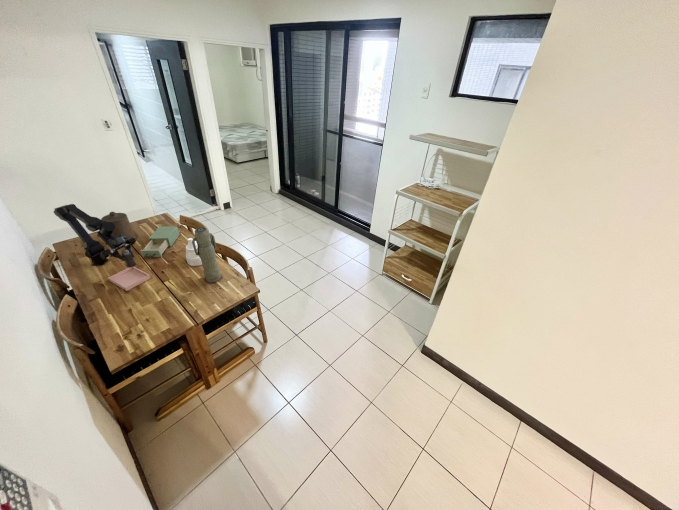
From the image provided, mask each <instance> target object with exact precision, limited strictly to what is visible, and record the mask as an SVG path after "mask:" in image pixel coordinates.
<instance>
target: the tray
mask: <svg viewBox="0 0 679 510" xmlns="http://www.w3.org/2000/svg"><path fill="white" fill-rule="evenodd" d="M151 278H152V277H151V275H150V274H149V273H147V272H145V271H144V270H141V269H140V268H138V267H136V266H134V267H131V268H129V267H126V268H125V269H123V270H121V271H119V272H117V273H115V274H113V275H111V276H109V277H107V279H108V281H109V282H111V283H112V284H113V285H115V286H117V287H119V288H120V289H122V290H124V291H126V292H128V291H130V290H131V289H133V288H136V287H137V286H139V285H141V284H143V283H144V282H147V281H148V280H149V279H151Z"/></svg>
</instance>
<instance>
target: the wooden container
mask: <svg viewBox="0 0 679 510" xmlns="http://www.w3.org/2000/svg"><path fill="white" fill-rule="evenodd" d="M100 219H101V220H103V221H106V222H111V223H113V224H114V225H115V230H114V232H113V235H114V236H117V237H120V236H119V235H121V234H124V235H125V236H126V237H127V238H126V239H125V242H126V240H127V239H130V238H132V237H133V238H135V239H136V238H137V237H136V236H137V235H136V233H135V231H134V229H133V227H132V225H131V222H130V220H129V217H128V215H127V213H125V212H115V211H110V212H109V214H106V215H104V216H102V217H101V218H100ZM125 242H123V243H125ZM123 243H122V244H123Z"/></svg>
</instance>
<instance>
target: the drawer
mask: <svg viewBox="0 0 679 510" xmlns="http://www.w3.org/2000/svg"><path fill="white" fill-rule="evenodd" d="M168 245H169V243H168V240H167V239H152V240H151V241H150V240H149V242H148V243H147V244H146V245H145V247H143V249H140V253H141V255H142V258H143V259H148V258H149V259H154V258H163V253H164V252H165V251H166V249H167V248H168Z"/></svg>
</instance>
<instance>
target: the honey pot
mask: <svg viewBox="0 0 679 510" xmlns="http://www.w3.org/2000/svg"><path fill="white" fill-rule="evenodd" d="M193 239H194V238H192V237H189V238H187V241H188V242H187V244H186V245H185V260H186V262H187V264H188V265H189V266H191V267H198V266H203V265H202V261H201V258H200V257H199V255H198V256H197V255H196V254H195V251H194V248H193V244H192V240H193ZM195 246H196V249H197V247H198V246H197V242H196V241H195ZM197 252H198V250H197Z"/></svg>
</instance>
